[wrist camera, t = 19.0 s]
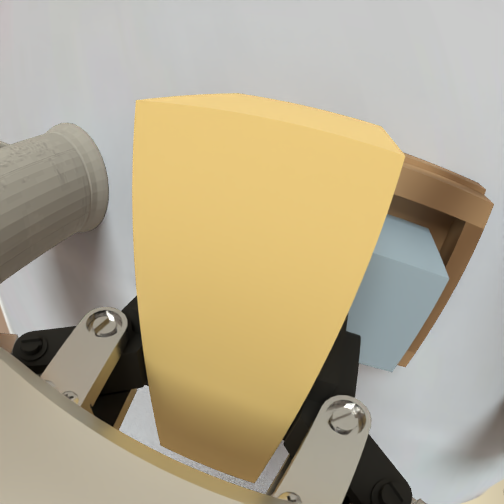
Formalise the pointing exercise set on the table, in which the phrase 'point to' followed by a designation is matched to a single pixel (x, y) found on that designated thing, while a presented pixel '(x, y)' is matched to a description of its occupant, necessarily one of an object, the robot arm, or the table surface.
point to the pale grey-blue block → (396, 292)
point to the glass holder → (48, 193)
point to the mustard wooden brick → (248, 261)
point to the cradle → (441, 222)
